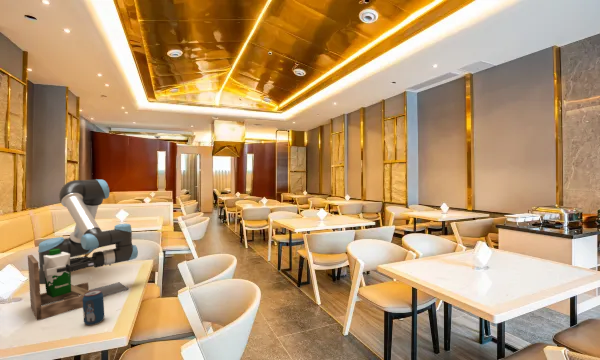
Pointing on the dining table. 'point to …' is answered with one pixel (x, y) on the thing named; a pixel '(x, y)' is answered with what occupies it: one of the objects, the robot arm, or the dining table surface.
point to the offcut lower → (70, 297)
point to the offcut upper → (78, 289)
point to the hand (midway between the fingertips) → (44, 270)
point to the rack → (43, 298)
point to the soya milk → (60, 281)
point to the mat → (111, 289)
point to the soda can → (93, 307)
